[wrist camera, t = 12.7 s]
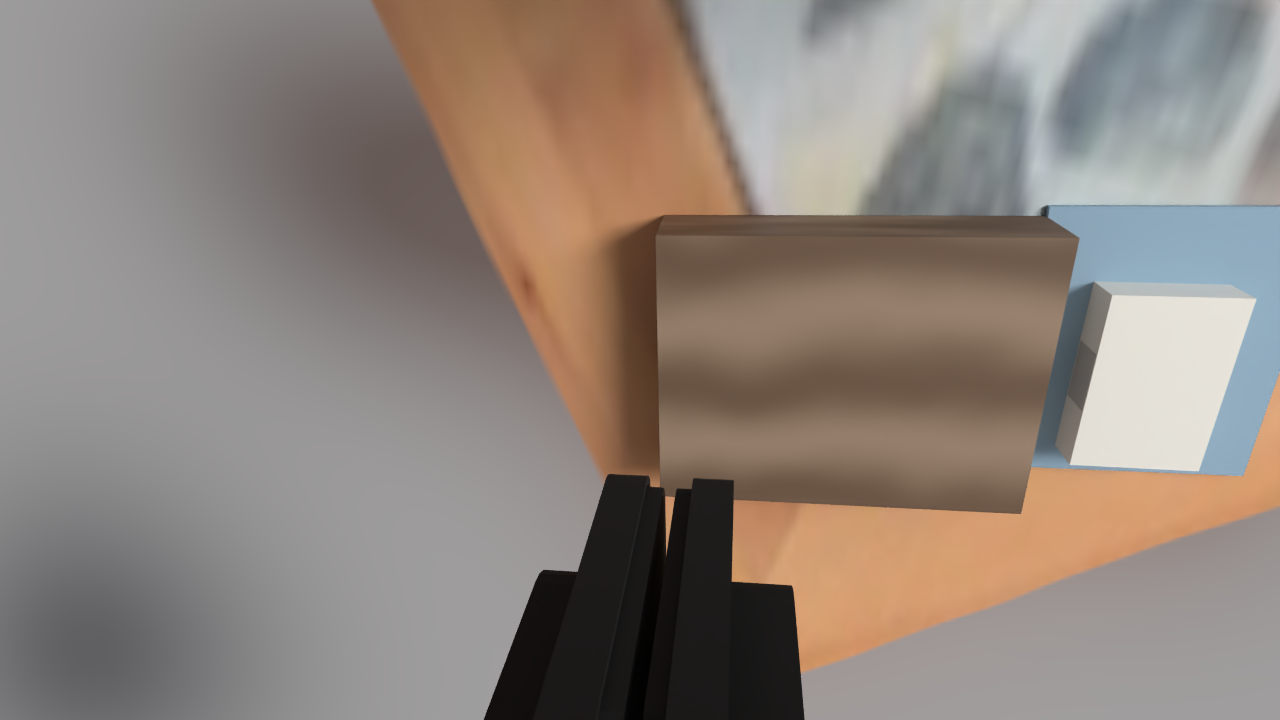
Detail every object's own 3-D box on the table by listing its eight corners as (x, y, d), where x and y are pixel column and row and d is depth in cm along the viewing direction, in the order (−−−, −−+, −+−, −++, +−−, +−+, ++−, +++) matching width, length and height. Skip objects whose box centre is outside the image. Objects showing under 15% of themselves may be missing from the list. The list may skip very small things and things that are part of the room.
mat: (1047, 205, 35) (1049, 206, 35) (1332, 205, 34) (1337, 207, 33) (998, 462, 41) (999, 465, 41) (1239, 472, 39) (1243, 476, 39)
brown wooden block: (664, 215, 38) (655, 235, 34) (1045, 216, 35) (1079, 238, 32) (667, 456, 43) (660, 496, 40) (996, 470, 41) (1020, 513, 37)
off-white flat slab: (1257, 298, 33) (1230, 284, 35) (1112, 295, 34) (1093, 281, 36) (1199, 471, 37) (1178, 450, 39) (1069, 464, 38) (1054, 444, 40)
